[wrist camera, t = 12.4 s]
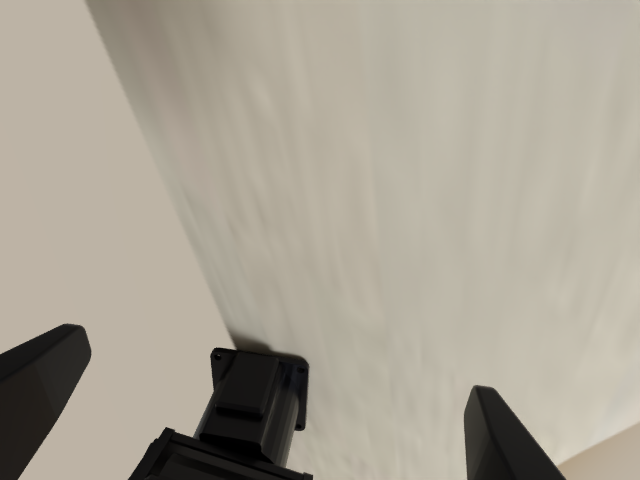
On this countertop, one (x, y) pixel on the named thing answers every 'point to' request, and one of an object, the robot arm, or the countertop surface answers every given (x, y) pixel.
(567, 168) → the countertop surface
